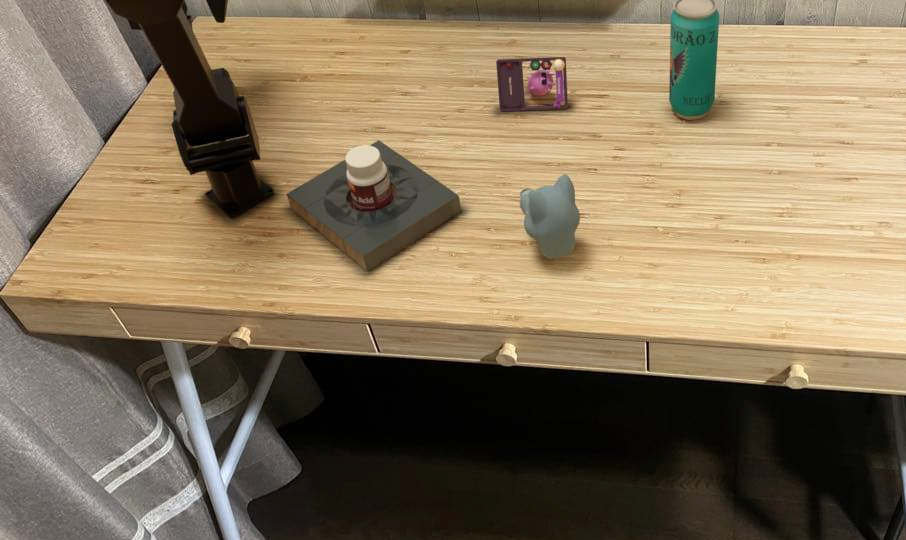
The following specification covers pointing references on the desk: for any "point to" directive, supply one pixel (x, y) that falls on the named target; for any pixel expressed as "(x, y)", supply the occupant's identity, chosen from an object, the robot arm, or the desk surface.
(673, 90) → the beverage can
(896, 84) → the desk surface
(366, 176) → the pill bottle
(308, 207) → the grey square slab
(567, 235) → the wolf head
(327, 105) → the desk surface
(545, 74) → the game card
